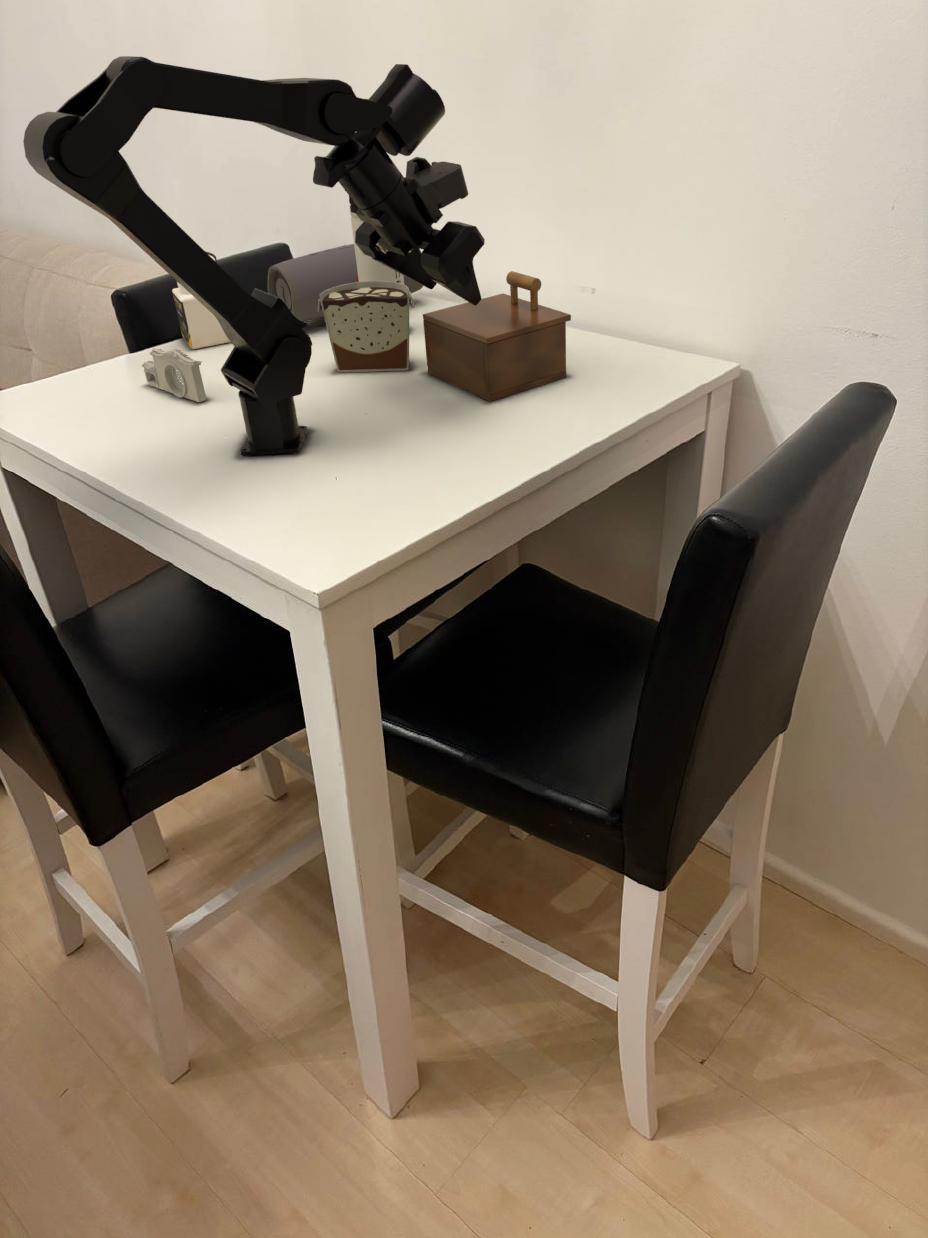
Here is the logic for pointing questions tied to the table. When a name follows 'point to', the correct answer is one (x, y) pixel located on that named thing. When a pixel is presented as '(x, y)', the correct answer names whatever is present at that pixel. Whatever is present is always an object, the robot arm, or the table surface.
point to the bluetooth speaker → (316, 279)
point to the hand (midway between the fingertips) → (455, 293)
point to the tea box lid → (500, 313)
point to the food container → (368, 325)
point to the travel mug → (370, 258)
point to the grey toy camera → (175, 374)
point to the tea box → (496, 360)
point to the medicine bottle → (197, 319)
